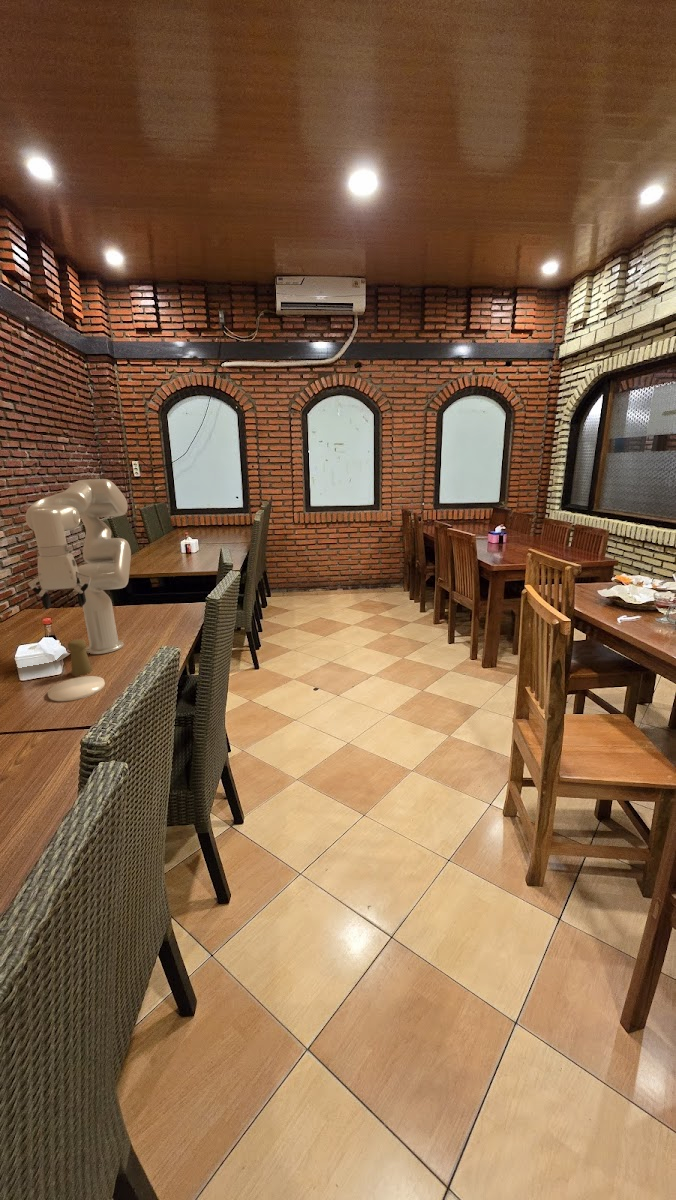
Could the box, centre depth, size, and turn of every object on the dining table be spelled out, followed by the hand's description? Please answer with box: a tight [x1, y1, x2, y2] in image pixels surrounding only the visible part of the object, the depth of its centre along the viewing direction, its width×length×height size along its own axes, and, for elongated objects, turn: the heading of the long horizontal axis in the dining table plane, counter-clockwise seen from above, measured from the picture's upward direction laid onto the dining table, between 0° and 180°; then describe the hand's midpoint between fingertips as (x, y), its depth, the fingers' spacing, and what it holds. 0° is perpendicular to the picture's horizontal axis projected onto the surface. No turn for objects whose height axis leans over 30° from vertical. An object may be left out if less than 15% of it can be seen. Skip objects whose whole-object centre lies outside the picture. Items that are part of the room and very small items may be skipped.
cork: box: [67, 638, 93, 677], centre depth 154 cm, size 6×6×11 cm
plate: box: [47, 675, 106, 702], centre depth 142 cm, size 15×15×1 cm
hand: (65, 606), depth 146 cm, fingers open, 9 cm apart
